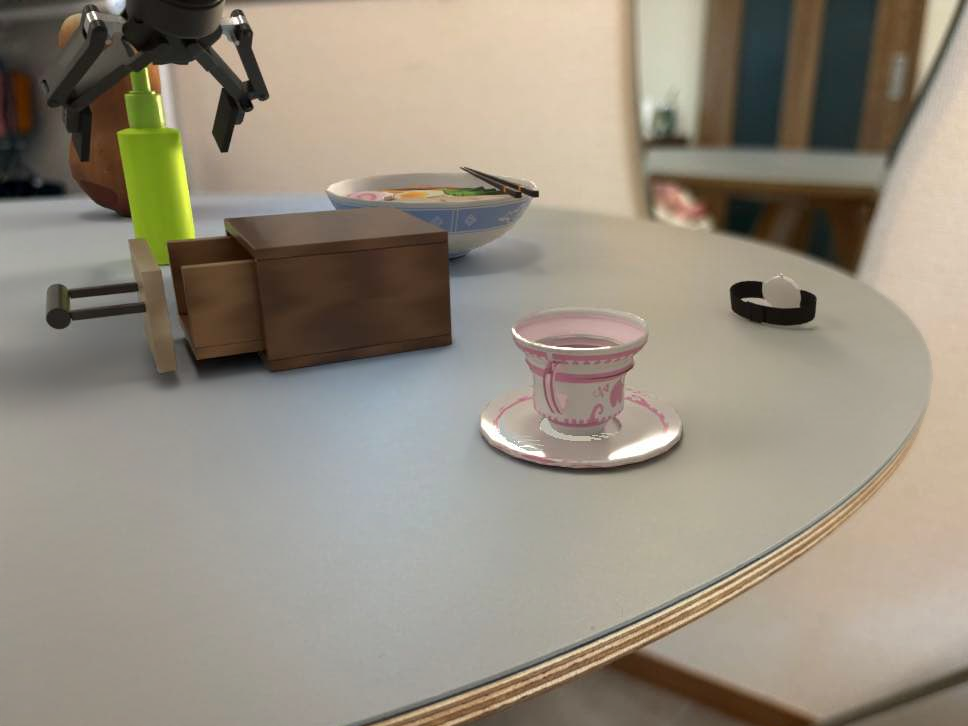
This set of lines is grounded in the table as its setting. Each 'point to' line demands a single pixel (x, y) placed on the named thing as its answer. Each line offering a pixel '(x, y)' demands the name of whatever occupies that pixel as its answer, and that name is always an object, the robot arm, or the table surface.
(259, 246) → the cabinet
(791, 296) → the watch
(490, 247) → the table surface
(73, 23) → the butternut squash
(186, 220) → the soap dispenser
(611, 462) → the teacup
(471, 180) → the ramen bowl
